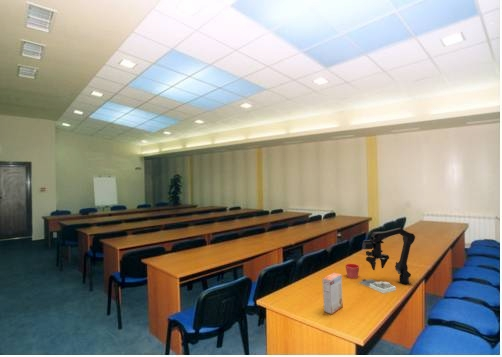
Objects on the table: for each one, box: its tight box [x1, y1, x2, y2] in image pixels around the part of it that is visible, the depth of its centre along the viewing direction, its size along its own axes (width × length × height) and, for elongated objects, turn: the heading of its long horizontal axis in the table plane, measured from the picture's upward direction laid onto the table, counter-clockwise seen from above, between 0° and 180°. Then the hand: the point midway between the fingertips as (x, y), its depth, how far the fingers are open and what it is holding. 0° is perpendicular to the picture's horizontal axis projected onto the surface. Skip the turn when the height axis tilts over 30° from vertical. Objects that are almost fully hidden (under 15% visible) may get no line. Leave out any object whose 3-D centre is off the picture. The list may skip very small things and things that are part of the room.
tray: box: [369, 281, 397, 294], centre depth 196 cm, size 12×12×3 cm
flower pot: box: [345, 263, 360, 279], centre depth 222 cm, size 11×11×10 cm
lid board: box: [358, 278, 378, 287], centre depth 209 cm, size 14×11×1 cm
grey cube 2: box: [374, 281, 383, 289], centre depth 196 cm, size 4×4×4 cm
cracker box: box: [321, 272, 344, 315], centre depth 168 cm, size 14×6×21 cm, turn 134°
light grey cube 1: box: [382, 281, 391, 289], centre depth 195 cm, size 4×4×4 cm
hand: (378, 269), depth 206 cm, fingers open, 9 cm apart
